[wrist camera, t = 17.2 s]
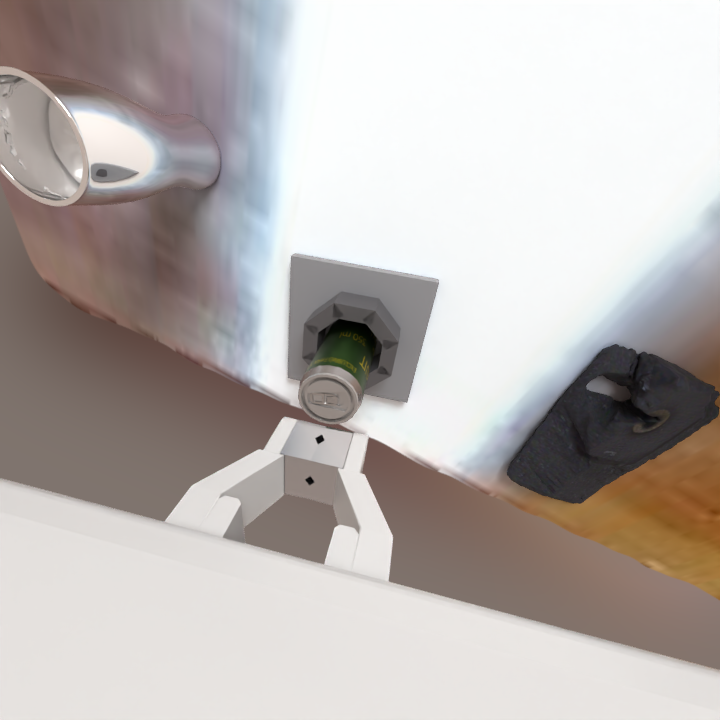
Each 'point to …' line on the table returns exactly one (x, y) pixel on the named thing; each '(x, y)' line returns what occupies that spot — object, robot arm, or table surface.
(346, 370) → the beer can
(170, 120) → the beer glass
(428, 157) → the table surface
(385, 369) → the barrel holder
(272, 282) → the table surface
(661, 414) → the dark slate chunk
